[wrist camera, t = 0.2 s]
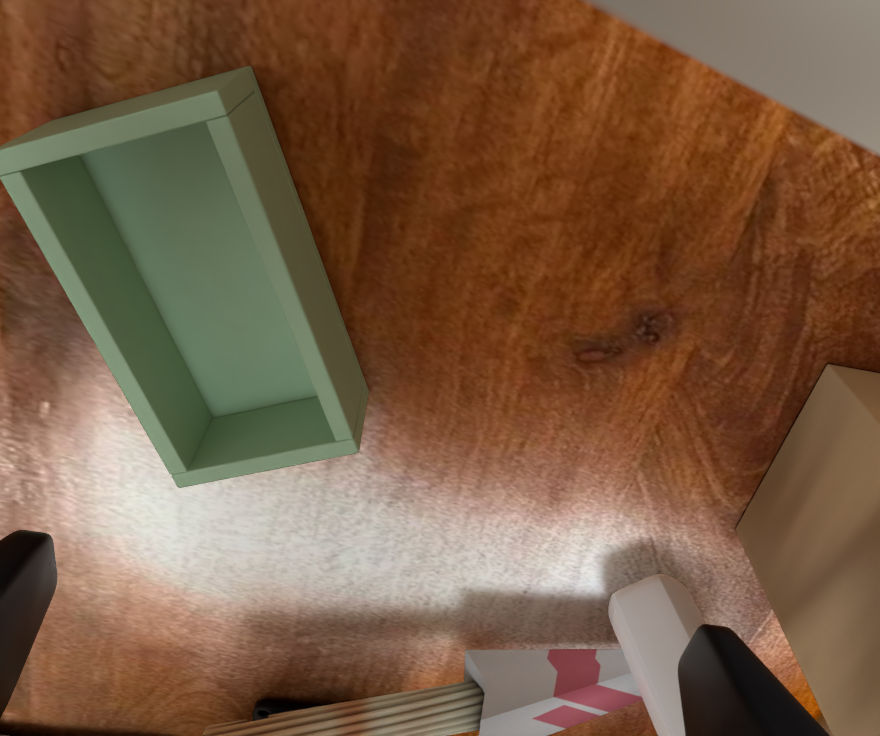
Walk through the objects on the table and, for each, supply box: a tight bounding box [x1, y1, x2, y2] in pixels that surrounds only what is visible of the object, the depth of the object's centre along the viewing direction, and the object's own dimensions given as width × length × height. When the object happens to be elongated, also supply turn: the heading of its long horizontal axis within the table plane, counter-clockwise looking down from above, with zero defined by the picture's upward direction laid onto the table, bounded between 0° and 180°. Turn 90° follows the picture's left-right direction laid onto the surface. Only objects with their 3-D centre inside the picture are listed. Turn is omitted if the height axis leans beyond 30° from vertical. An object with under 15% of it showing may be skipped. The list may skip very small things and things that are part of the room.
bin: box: [0, 66, 369, 488], centre depth 22 cm, size 11×6×4 cm, turn 14°
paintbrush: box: [203, 649, 643, 736], centre depth 29 cm, size 4×3×20 cm
